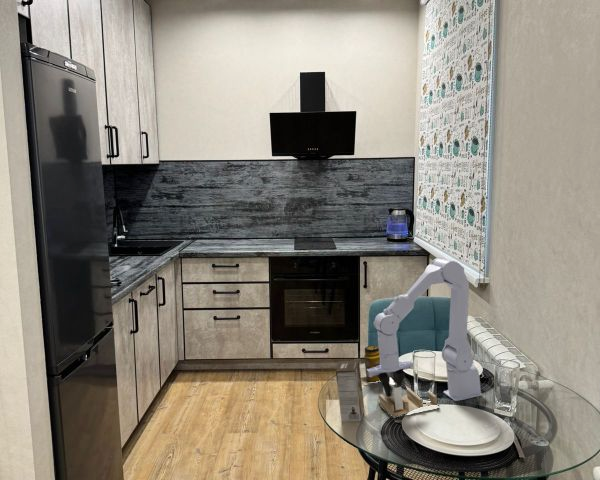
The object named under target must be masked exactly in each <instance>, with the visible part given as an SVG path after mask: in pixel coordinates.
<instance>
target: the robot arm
mask: <svg viewBox="0 0 600 480" xmlns="http://www.w3.org/2000/svg"><path fill="white" fill-rule="evenodd" d="M444 283H445V285H447V286H448V287H449V288H450V299H449V300H450V303H449V323H448V325H449V327H448V328H449V329H448V338H446V339H445V340H444V346H443V348H442V351H441V357H442V360H443V361H444V362H445V365H446V366H445V367H446V377H447V388H448V389H447V390H444V391H443V394H445V395H446V396H448V397H449V398H450V399H452V400H453V401H454V402H459V401H463V400H467V399H472V398H477V397H481V396H483V394H482V391H481V381H480V380H481V379H480V373H479V371H478V368H477V367H476V366H475V365H474V356H473V353H472V347H471V345H470V343H469V341H468V337H467V335H468V317H469V316H468V315H469V295H470V282H469V280H468V277H467V275H466V274H465V267H464V266H462V264H460V263H459V262H457V261H455V260H449V259H445V258H442V257H437V258H434V259H433V260H432V261H431V263H429V264H428V265H427V266H426V268H425V270H424V272H422V274H421V275H420V276H419V278H417V280H416V281H415V282H414V283H413V285H412V286H411V287H410V288H409V289H408V290H407V292H406V293H404V294H399V295H398V296H397V295H396V296H394V298H393V301H392V302H391V303H390V305H389V306H388V307H386V308H384V309H383V310H382V311H383V312H381V313H380V312H379V313H377V315H376V316H375V318H374V321H373V322H372V323H373V326H374V328H375V329H376V330H377V331H376V333H377V346H378V347H379V355H380V365H379V366H376V367H374V368H371V369H367V375H368V376H369V377H373V376H375V375H377V376H378V377H379V379H380V381H381V385H382V387H384V390H385V393H386V395H387V396H388V397H390V387H389V382H390V378H391V377H390V376H388V374H389V373H392V378H393V380H394V381H395V382H396V383H397V384H399V385H400V386H401V387H402V383H403V381H404V378H405V377H406V372H405V371H404V370H413V369H414V362H412V360H409V361H406V360H405V361H400V358H399V349H398V348H399V347H398V338H397V332H398V330H399V328H400V324H401V322H402V321H403V320H404V319H405V317H407V316H408V314H409V313H411V311H412V310H413V309H414V307H415V302H416V301H417V300H418V298H420V297H421V296H422V295H423V294H424V293H426V291H427V290H428V289H429V288H431V286H432V285H436V284H444ZM389 377H390V378H389ZM384 390H383V391H384Z"/></svg>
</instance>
